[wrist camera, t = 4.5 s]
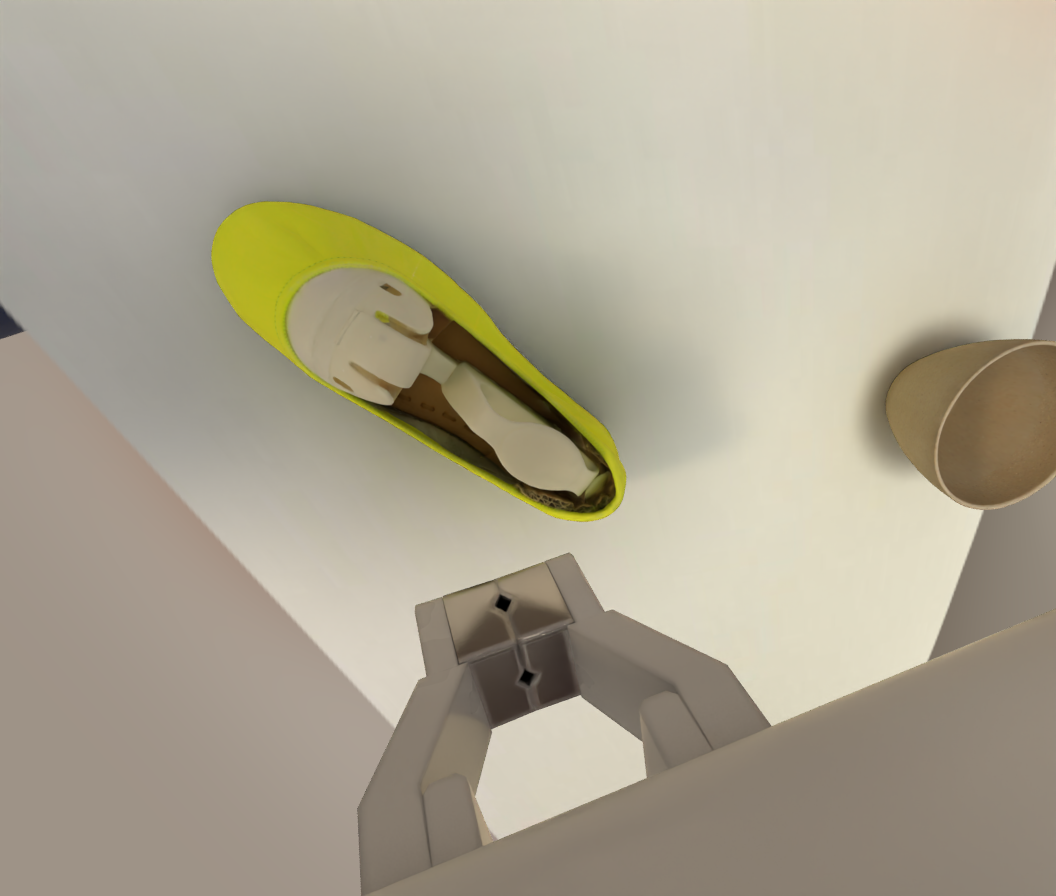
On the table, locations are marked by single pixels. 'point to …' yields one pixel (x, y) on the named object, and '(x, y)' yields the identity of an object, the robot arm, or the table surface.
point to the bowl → (980, 420)
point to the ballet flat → (413, 353)
